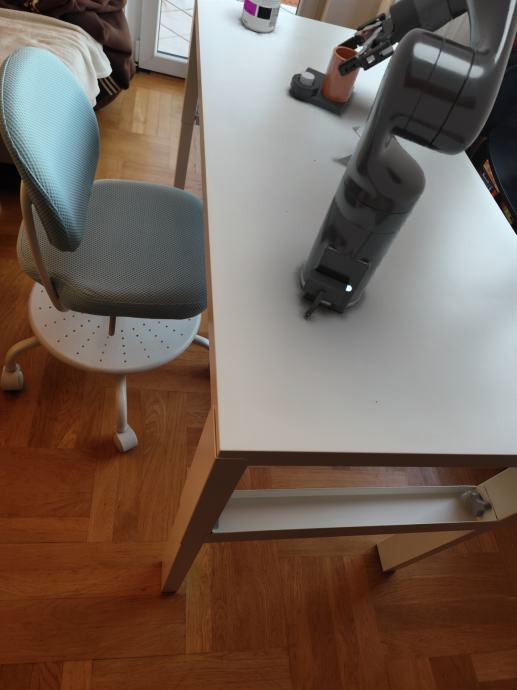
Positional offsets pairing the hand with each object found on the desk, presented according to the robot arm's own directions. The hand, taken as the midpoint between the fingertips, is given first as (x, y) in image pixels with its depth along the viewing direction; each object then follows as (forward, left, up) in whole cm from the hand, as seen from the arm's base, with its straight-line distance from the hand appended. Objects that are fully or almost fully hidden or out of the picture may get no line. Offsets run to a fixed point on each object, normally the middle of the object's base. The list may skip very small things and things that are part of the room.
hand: (338, 61), depth 96 cm
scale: (+1, +1, -8) cm, 8 cm away
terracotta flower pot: (0, -1, -6) cm, 7 cm away
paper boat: (-16, -12, -8) cm, 22 cm away
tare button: (-3, +5, -5) cm, 7 cm away
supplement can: (+20, +23, -8) cm, 32 cm away
